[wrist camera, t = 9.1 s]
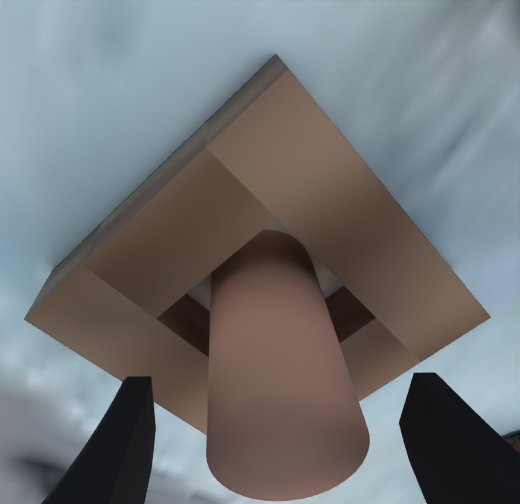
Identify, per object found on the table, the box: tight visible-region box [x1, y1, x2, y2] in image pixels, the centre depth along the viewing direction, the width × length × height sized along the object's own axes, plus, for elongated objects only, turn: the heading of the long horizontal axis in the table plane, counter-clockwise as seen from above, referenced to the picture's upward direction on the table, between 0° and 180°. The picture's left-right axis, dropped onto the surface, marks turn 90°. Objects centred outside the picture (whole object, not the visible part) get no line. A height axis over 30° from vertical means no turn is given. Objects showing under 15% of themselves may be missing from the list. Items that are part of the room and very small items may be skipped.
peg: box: [206, 229, 370, 501], centre depth 15 cm, size 4×4×8 cm
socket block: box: [24, 54, 491, 435], centre depth 17 cm, size 11×11×3 cm
